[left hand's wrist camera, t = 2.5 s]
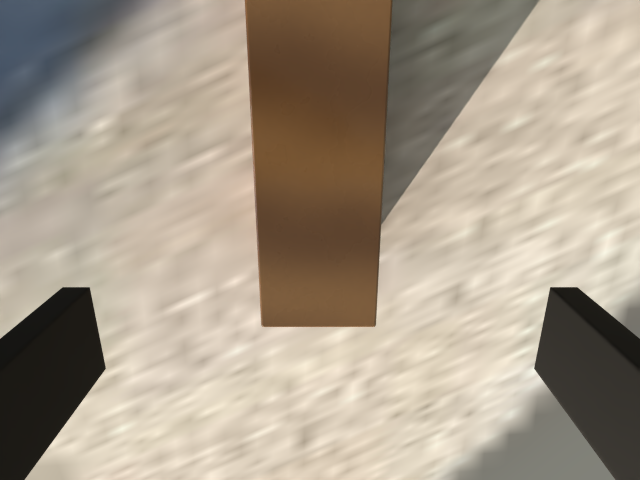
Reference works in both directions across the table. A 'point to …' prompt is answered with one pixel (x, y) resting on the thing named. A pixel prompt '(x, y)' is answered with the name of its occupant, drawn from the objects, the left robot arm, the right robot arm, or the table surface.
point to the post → (318, 156)
